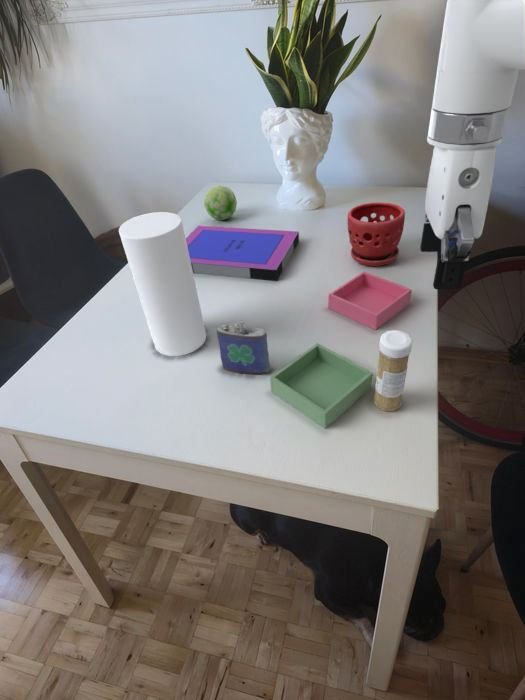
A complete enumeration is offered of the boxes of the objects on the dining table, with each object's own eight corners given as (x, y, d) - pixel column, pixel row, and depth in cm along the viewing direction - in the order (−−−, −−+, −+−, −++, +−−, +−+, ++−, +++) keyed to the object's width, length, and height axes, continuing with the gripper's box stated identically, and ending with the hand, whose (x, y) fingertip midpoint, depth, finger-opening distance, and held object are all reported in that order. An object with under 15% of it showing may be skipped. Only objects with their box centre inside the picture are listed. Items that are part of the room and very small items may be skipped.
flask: (271, 366, 81) (266, 319, 74) (267, 377, 79) (262, 330, 72) (225, 360, 83) (216, 315, 77) (220, 371, 81) (210, 325, 74)
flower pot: (395, 244, 113) (401, 199, 106) (403, 269, 103) (409, 221, 96) (344, 246, 115) (346, 201, 108) (347, 271, 105) (349, 224, 98)
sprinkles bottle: (375, 390, 74) (382, 327, 65) (403, 395, 73) (413, 331, 64) (371, 410, 71) (378, 346, 62) (400, 415, 69) (411, 350, 61)
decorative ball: (229, 226, 131) (224, 193, 125) (201, 223, 135) (195, 191, 129) (244, 213, 138) (240, 181, 131) (217, 210, 142) (212, 179, 135)
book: (198, 225, 126) (298, 231, 118) (200, 235, 128) (299, 241, 119) (164, 260, 111) (276, 270, 103) (166, 270, 113) (276, 281, 104)
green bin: (371, 387, 75) (373, 372, 72) (325, 428, 69) (325, 413, 66) (317, 357, 82) (317, 342, 80) (271, 391, 76) (269, 377, 74)
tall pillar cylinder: (216, 330, 91) (193, 215, 75) (186, 361, 84) (154, 242, 68) (175, 319, 96) (146, 208, 80) (143, 348, 89) (105, 233, 73)
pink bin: (409, 303, 93) (412, 289, 90) (375, 330, 87) (377, 315, 84) (362, 284, 100) (363, 271, 98) (328, 308, 94) (328, 294, 92)
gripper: (533, 146, 39) (487, 305, 50) (481, 105, 52) (454, 238, 63) (446, 151, 40) (419, 305, 51) (416, 110, 53) (400, 239, 64)
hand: (438, 268), depth 57 cm, fingers open, 9 cm apart
